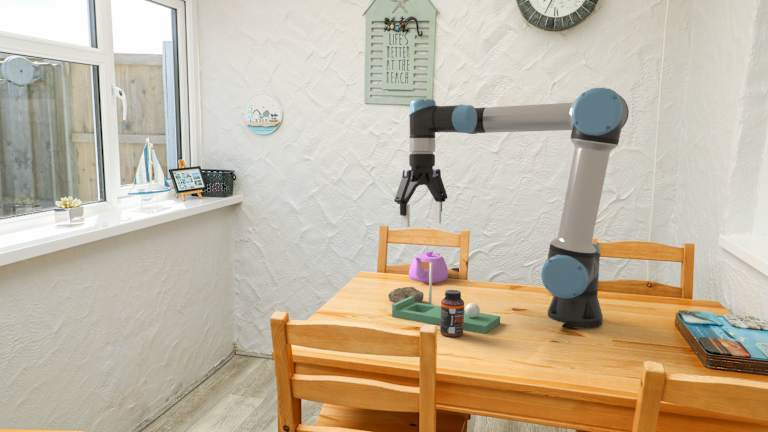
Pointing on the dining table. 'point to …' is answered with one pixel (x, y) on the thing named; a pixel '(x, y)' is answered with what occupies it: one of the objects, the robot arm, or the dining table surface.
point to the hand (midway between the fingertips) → (421, 224)
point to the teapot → (423, 275)
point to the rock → (405, 294)
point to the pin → (429, 267)
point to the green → (433, 314)
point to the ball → (472, 310)
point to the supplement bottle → (452, 314)
